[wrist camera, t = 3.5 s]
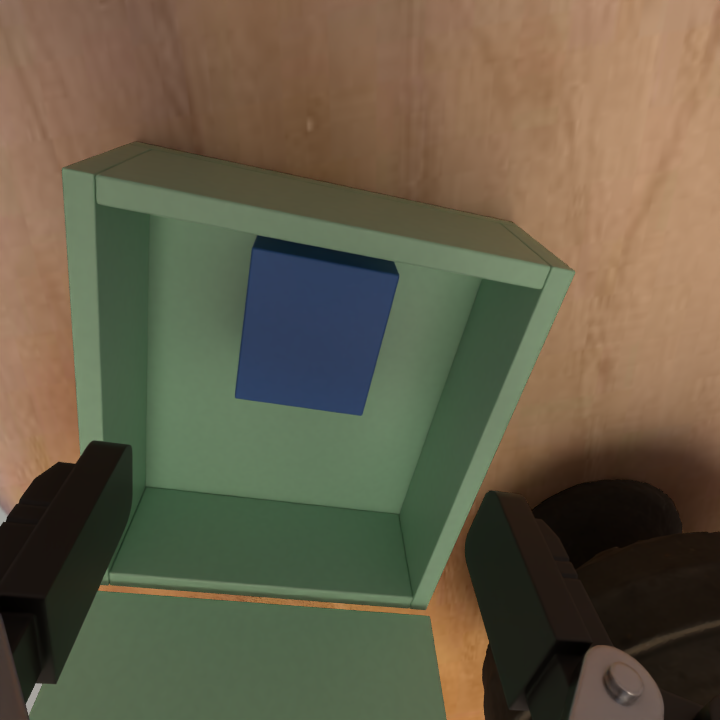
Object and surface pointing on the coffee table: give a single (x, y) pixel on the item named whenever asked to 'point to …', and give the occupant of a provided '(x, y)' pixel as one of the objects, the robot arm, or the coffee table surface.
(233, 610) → the lunchbox lid
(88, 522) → the robot arm
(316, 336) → the block
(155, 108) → the coffee table surface
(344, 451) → the box
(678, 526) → the pot
